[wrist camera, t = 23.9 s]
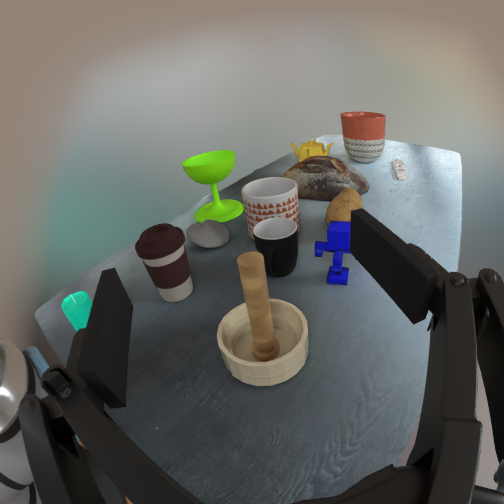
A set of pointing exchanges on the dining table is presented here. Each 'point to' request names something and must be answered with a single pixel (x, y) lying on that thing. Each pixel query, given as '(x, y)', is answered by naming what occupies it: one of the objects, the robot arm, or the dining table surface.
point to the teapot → (311, 150)
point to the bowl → (240, 340)
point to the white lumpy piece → (399, 174)
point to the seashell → (208, 234)
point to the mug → (277, 245)
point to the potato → (343, 206)
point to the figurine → (336, 250)
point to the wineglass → (213, 183)
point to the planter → (363, 135)
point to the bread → (325, 178)
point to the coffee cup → (166, 261)
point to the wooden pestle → (258, 306)
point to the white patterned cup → (270, 201)
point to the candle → (77, 309)
